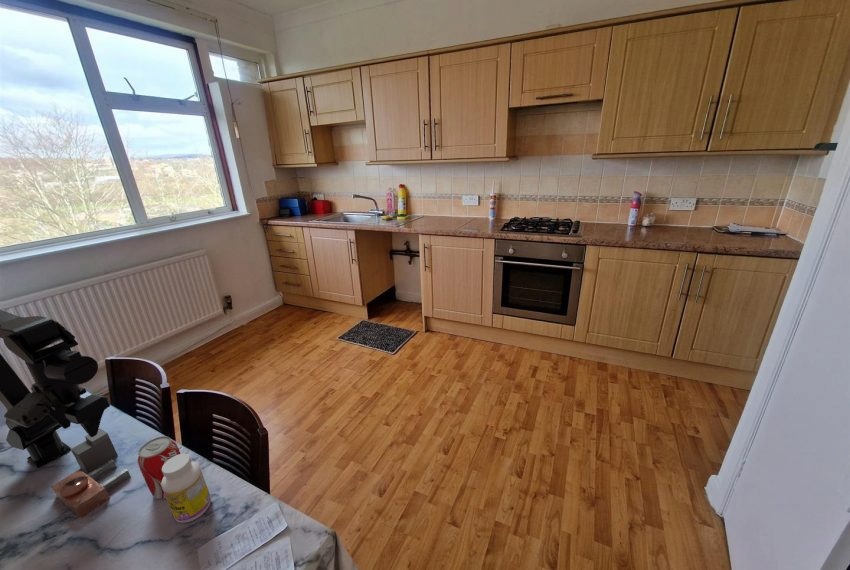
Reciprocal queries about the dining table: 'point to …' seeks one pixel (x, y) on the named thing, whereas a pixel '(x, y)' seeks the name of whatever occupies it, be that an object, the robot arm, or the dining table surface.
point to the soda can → (156, 462)
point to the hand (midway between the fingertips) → (80, 431)
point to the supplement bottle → (185, 488)
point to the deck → (88, 488)
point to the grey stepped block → (94, 451)
